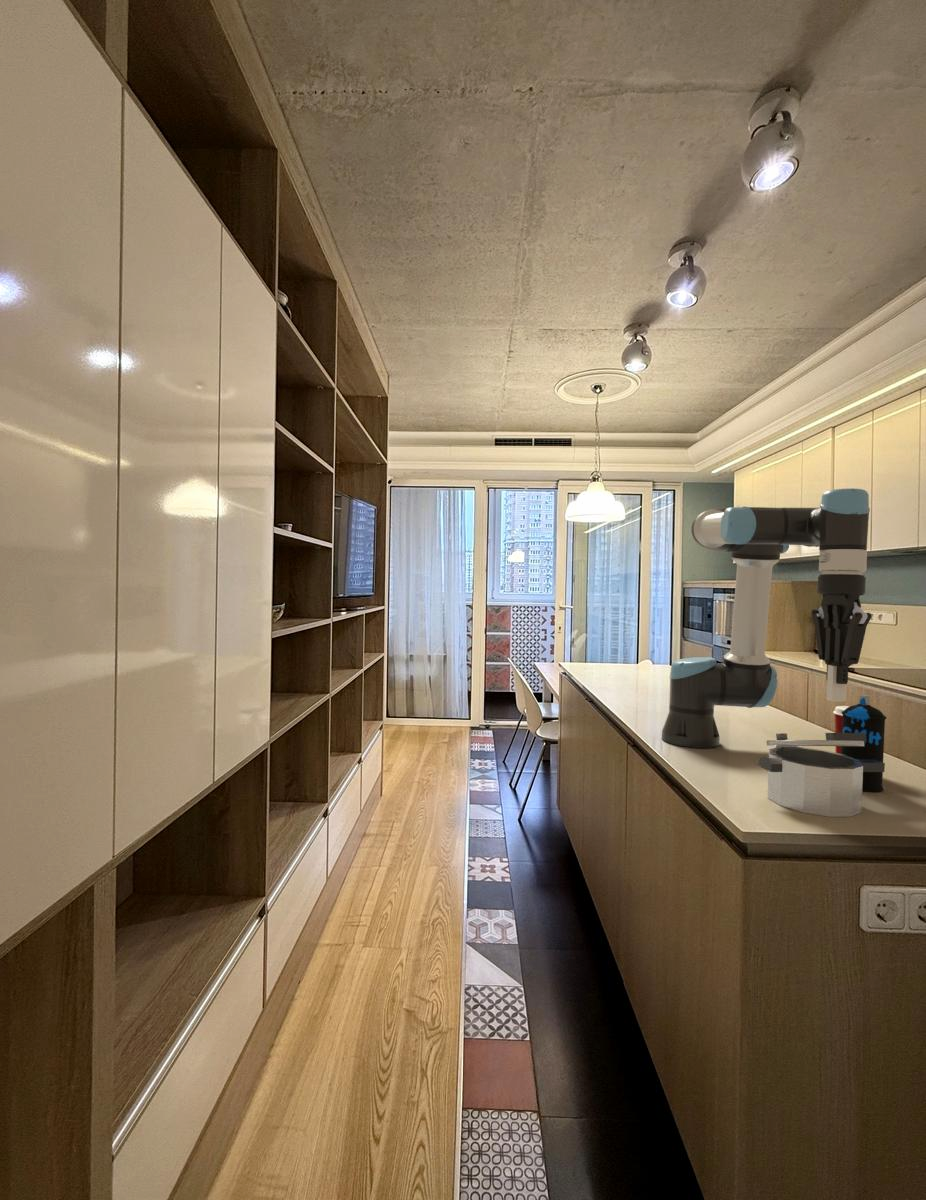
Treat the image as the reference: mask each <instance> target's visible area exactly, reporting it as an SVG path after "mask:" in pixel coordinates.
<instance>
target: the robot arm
mask: <svg viewBox="0 0 926 1200" xmlns="http://www.w3.org/2000/svg"><path fill="white" fill-rule="evenodd" d="M869 496H870V495H869V493H868V491H866V490H865V489H861V488H838V489H837V488H836V489H830V490H826V491H825V492H823V493H822V495H821V501H820V504H819V507H780V506H779V507H765V506H764V507H763V506H737V507H736V506H735V507H719V508H712V509H707V510H705V511H703V512H701V513H700V514H698V515H697V516H696V517H695V518H694V520H693V521H692V523H691V528H690V531H691V532H690V533H691V536H692V538H693V540H694V542H696V544H697V545H699V546H701V547H703V548H704V549H707V550H711V551H716V552H724V553H725V552H727V553H728V552H730V553H731V560H732V561H733V562H734V563H735V564H736V576H735V587H734V588H735V589H734V600H733V611H732V613H733V615H732V626H731V638H730V650H729V651H728V652H727V653H725V654H724V655H723V662H720V663H719V662H718V663H717V660H716V658H714V657H708V656H705V657H702V656H700V657H697V656H695V657H685V658H680V659H677V660H674V661H673V662H672V663H671V667H670V673H669V679H670V680H669V709H668V710H669V711H668V713H667V717H666V719H665V721H664V724H663V727H662V730H661V739H662V740H663V741H664V742H665V743H669V744H672V745H676V746H681V747H687V748H695V749H711V748H716V747H719V746H720V744H721V743H720V739H721V737H720V734H719V729H718V726H717V723H716V720H715V716H714V715H715V713H714V712H715V706H721V707H722V706H724V707H739V708H740V707H741V708H747V709H752V708H765V707H767V706H769V705H770V703H772V702H773V699H774V698H775V696H776V694H777V693H776V692H777V689H778V672H777V669H776V668H775V667H774V666H772V665H771V660H770V658H768V656H767V655H766V645H767V644H766V643H767V634H768V633H767V631H768V622H769V621H768V620H769V610H770V600H771V599H770V598H771V586H772V576H773V567H774V566H775V565H776V564H777V563H778V562H780V560H781V558H780V557H781V554H786V552H787V551H788V550H789V548H790V546H804V547H808V548H809V547H810V548H811V547H813V548H814V547H815V548H818V551H819V559H818V560H819V561H818V571H819V572H822V574H819V576H817V590H816V591H817V594H819V595H822V600H821V602H820V607H819V608H818V609H812V610H811V617H812V619H813V621H814V629H815V631H814V632H815V638H816V639H815V640H816V645H817V647H816V648H817V654H818V655H817V656H818V659H819V660H821V661H823V662H824V663H825V664H826V673H825V675H826V677H825V679H826V700H827V701H829V702H846V701H847V700H846V699H847V684H848V683H849V668H850V667H851V666H852V665H857V664H859V661H860V656H861V652H862V648H863V643H864V640H865V635H866V629H867V626H868V624H869V623H870V621H871V620H872V614H871V612H865V611H864V610H863V609H862V604H861V601H860V600H861V599H860V597H861V596H864V595H865V594H866V583H867V582H866V580H867V579H866V576H865V575H863V573H865V572H867V568H868V567H867V564H868V562H867V561H868V550H867V549H868V535H869V534H868V533H869V532H868V531H869V518H870V515H869V514H870V512H871V509H870V504H869V503H870V501H869V499H870V498H869Z"/></svg>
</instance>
